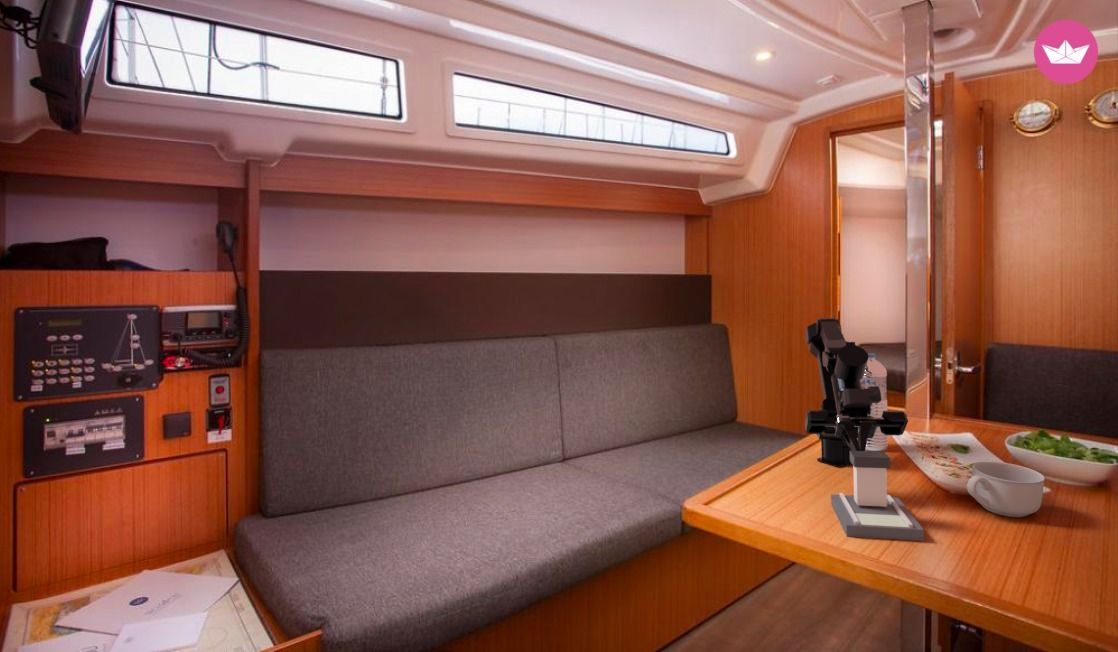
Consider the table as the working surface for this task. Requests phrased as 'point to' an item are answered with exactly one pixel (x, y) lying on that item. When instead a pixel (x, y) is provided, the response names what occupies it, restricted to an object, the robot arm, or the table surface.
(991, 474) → the teacup
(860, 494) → the fader knob
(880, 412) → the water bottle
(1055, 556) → the table surface
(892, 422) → the robot arm
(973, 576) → the table surface
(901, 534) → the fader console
